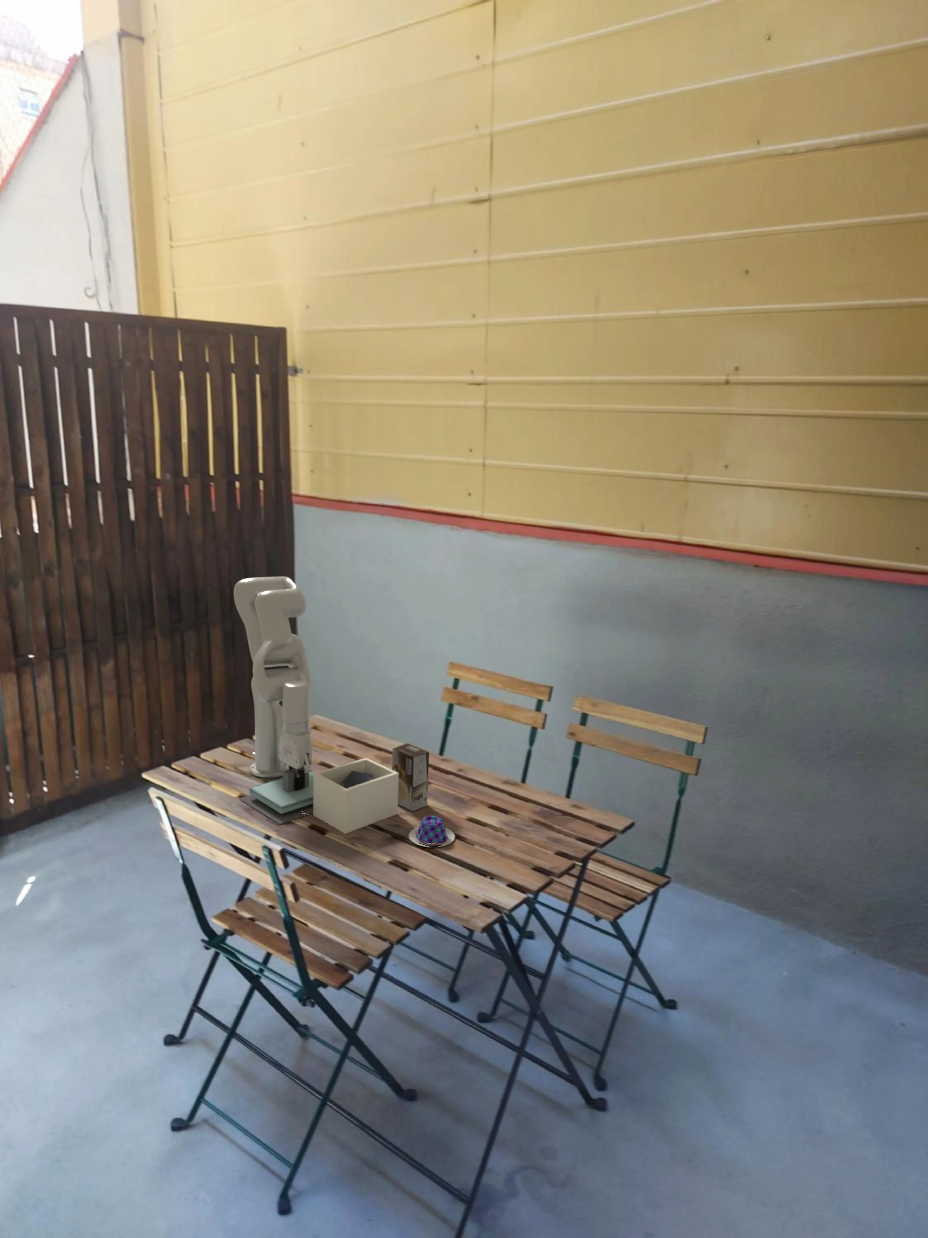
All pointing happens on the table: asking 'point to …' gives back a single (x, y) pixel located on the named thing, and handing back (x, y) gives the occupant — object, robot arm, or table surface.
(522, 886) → the table surface
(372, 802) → the box
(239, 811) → the table surface
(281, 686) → the robot arm
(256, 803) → the mat
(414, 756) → the coffee box
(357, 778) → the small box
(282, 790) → the lid
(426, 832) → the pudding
